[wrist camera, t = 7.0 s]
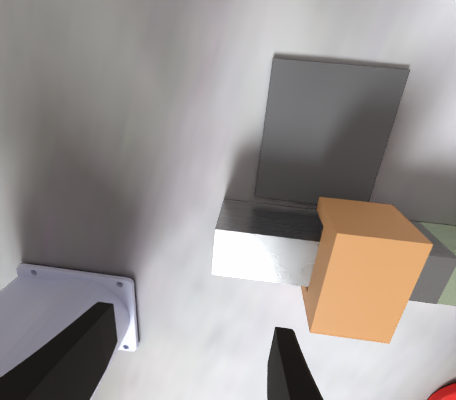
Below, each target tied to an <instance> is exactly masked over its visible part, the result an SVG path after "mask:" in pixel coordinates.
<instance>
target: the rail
mask: <svg viewBox="0 0 456 400" xmlns="http://www.w3.org/2000/svg"><path fill="white" fill-rule="evenodd" d="M410 222H411V223H412V224H413V225H414V226H415V227H416V228H417V229H418V230H419V231H420V232H421V233H422V234H423V235H424V236H425V237H426V238H427V239H428V240H429V241H430V242H431V243H432V244H433V246H432V249H431V251H430V253H429V255H428V258H427V260H426V262H425V264H424V267H423V269H422V271H421V273H420V276H419V278H418V280H417V282H416V285H415V287H414V289H413V291H412V294H411V296H410V298H409V300H410V301H418V302H425V303H433V304H445V305H452V306H456V226H452V225H443V224H434V223H426V222H417V221H410ZM323 227H324V226H323V224H322V222H321V219H320V217H319V215H318V212H317V210H314V209H305V208H297V207H288V206H280V205H271V204H262V203H254V202H245V201H237V200H228V199H224V200H223V204H222V207H221V211H220V214H219V218H218V221H217V225H216V228H215V238H214V253H213V267H212V274H215V275H222V276H230V277H237V278H245V279H252V280H260V281H267V282H275V283H282V284H290V285H297V286H305V287H309V283H310V279H311V275H312V271H313V267H314V263H315V259H316V255H317V251H318V247H319V243H320V239H321V235H322V231H323Z"/></svg>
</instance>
